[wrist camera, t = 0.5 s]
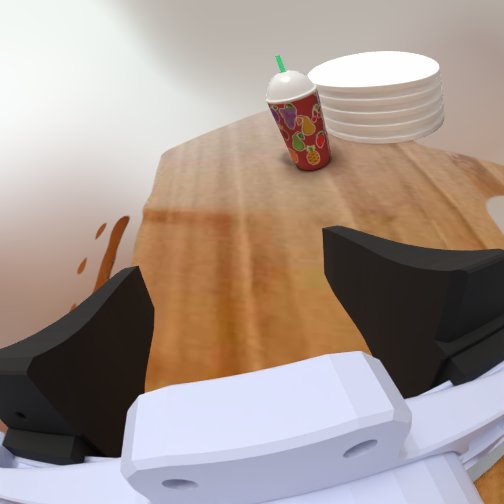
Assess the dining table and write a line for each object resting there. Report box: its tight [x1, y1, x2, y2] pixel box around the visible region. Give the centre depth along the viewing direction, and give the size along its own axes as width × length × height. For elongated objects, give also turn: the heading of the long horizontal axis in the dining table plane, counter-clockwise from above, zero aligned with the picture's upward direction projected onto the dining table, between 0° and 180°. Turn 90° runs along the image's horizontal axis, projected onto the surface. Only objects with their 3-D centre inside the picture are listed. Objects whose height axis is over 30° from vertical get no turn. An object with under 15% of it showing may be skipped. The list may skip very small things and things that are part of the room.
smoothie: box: [265, 55, 330, 170], centre depth 44 cm, size 8×8×20 cm
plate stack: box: [307, 51, 444, 144], centre depth 51 cm, size 28×28×12 cm
